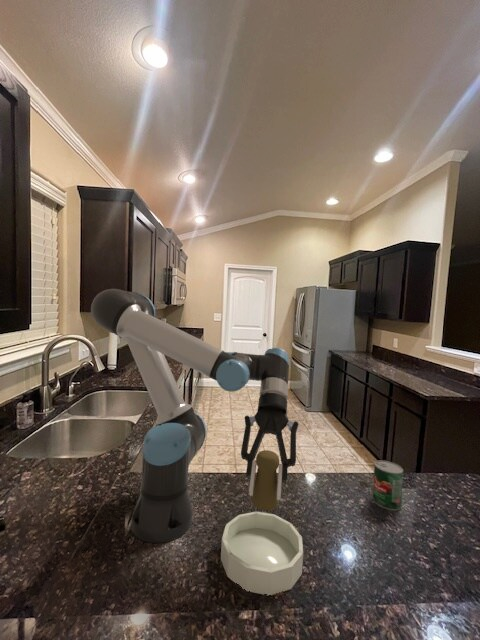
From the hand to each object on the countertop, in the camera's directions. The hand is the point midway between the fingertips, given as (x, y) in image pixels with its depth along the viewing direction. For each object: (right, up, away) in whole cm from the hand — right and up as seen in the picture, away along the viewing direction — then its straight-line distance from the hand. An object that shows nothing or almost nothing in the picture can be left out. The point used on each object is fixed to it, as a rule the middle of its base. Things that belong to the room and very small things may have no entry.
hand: (264, 495), depth 63 cm
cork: (0, -4, +4) cm, 5 cm away
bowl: (0, -16, +4) cm, 16 cm away
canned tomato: (+40, -19, +28) cm, 52 cm away
